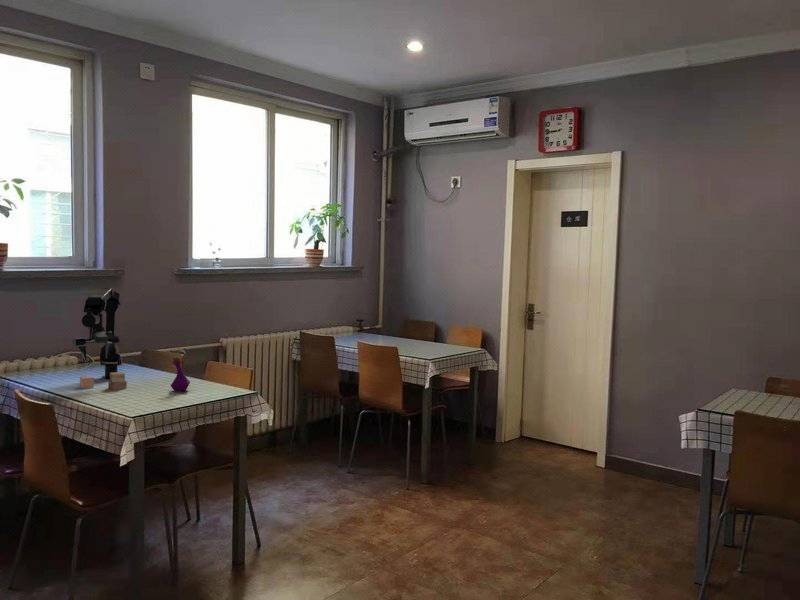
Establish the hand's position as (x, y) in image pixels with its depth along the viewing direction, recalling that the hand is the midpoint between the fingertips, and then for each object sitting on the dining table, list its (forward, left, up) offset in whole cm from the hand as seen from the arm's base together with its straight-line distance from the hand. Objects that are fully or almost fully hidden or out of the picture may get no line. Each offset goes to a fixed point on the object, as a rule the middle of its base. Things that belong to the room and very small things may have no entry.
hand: (96, 359), depth 301 cm
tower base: (+8, +7, -13) cm, 16 cm away
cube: (-2, -3, -13) cm, 13 cm away
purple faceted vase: (+29, +27, -13) cm, 41 cm away
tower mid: (+8, +6, -9) cm, 14 cm away
